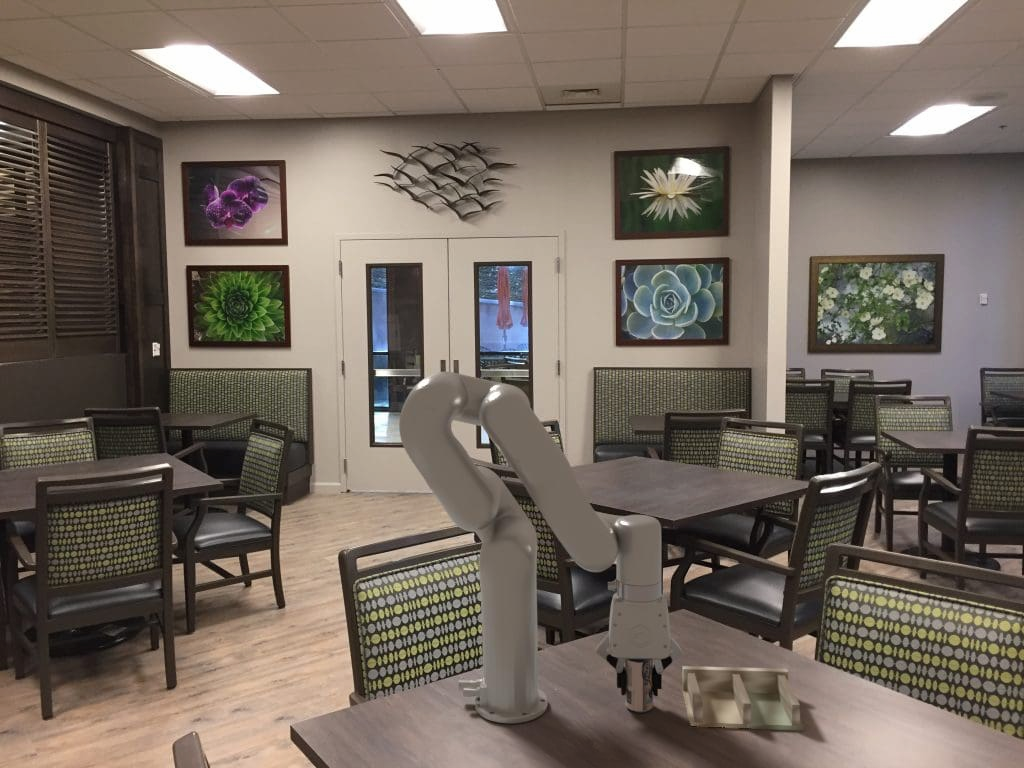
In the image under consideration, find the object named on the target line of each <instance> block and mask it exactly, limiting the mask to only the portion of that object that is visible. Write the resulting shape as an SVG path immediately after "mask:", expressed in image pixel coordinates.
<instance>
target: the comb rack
mask: <svg viewBox="0 0 1024 768" xmlns="http://www.w3.org/2000/svg"><path fill="white" fill-rule="evenodd" d="M681 668H682V679H681V680H682V688H681V690H682V696H683V699H684V700H685V701H684V705H685V704H686V705H685V709H686V708H687V709H686V713H687V717H689V718H688V721H690V722H689V725H691V726H697V727H696V728H708V727H722V728H721V729H739V728H749V729H748V730H770V729H771V730H774V731H775V730H777V731H801V732H802V731H805V725H804V723H803V721H802V719H801V704H800V702H799V700H798V699H797V696H796V694H795V693H794V691H793V689H792V686H791V685H790V683H789V670H788V669H787V668H774V667H773V668H771V667H770V668H769V667H735V666H732V667H731V666H727V667H726V666H700V665H699V666H696V665H695V666H694V665H693V666H692V665H691V666H690V665H689V666H688V665H682V667H681ZM691 726H690V727H691ZM699 726H700V727H699ZM723 727H725V728H723ZM750 728H751V729H750Z"/></svg>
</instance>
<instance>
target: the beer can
mask: <svg viewBox="0 0 1024 768" xmlns="http://www.w3.org/2000/svg"><path fill="white" fill-rule="evenodd" d="M653 666H654V660H653V659H626V660H625V663H624V667H625V673H626V695H624V696H625V699H624V700H625V702H624V704H625V707H626V708H627V709H629V710H630V711H631V712H634V711H635V712H634V713H646V712H648V711H650V710H651V709H653V707H654V703H653V699H654V697H653V696H654V695H653Z"/></svg>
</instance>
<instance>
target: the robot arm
mask: <svg viewBox="0 0 1024 768" xmlns="http://www.w3.org/2000/svg"><path fill="white" fill-rule="evenodd" d="M454 421H456V422H460V423H464V424H470V425H474V426H480V427H482V428H483V430H484V431H485V433H486V434H487V436H488V437H489V439H490V440H491V441H492V442H493V444H494V445H495V447H496V448H497V450H498V451H499V453H501V456H503V458H504V460H505V461H506V462H507V464H508V465H509V466H510V467H511V469H512V470H513V472H514V473H515V474H516V476H517V477H518V479H519V481H521V483H522V484H523V486H524V488H525V489H526V492H527V494H528V495H529V497H530V498H531V500H532V501H533V502H534V504H535V506H536V507H537V509H538V510H539V511H540V514H541V515H542V516H543V518H544V520H545V522H546V523H547V524H548V526H549V528H550V529H551V530H552V532H553V533H554V535H555V537H556V538H557V539H558V541H559V542H560V544H562V546H563V548H564V550H565V551H566V553H568V554H569V556H570V557H571V559H572V560H573V561H574V563H576V565H577V566H579V567H580V568H581V569H583V570H585V571H586V572H587V571H588V572H591V573H601V572H603V571H606V570H608V569H609V568H610V567H611V566H612V565H613V564H614V563H615V561H616V578H615V579H614V580H613V581H607V590H608V591H613V592H614V594H613V595H612V599H611V602H610V611H609V626H608V633H607V634H606V635H605V636H604V637H603V639H602V640H601V641H600V642H599V644H598V645H597V646H596V654H597V655H599V656H600V657H601V658H602V659H604V660H606V661H607V663H608V664H609V665H610V666H612V668H613V669H615V672H616V688H617V689H620V693H621V696H625V695H626V673H625V660H626V659H653V696H654V697H658V696H659V690H662V689H663V687H662V686H663V685H662V683H663V682H662V679H663V677H662V674H663V673H664V670H666V669H667V668H668V667H669V666H671V664H672V663H673V662H674V661H676V660H677V659H678V658H680V657H681V656H683V650H682V648H681V646H679V644H678V643H677V641H675V639H674V638H673V637H672V635H671V634H670V633H671V632H670V631H671V630H670V617H669V609H668V603H667V599H666V597H665V595H664V594H663V593H662V524H661V523H660V520H658V519H657V518H656V517H653V516H650V515H644V514H630V515H618V514H617V515H616V514H615V515H614V514H610V513H609V514H608V513H603V512H596V511H595V509H594V508H593V507H592V505H591V503H590V502H589V500H588V499H587V498H586V496H585V494H584V492H583V490H582V489H581V486H580V485H579V483H578V480H577V479H576V476H575V473H574V471H573V469H572V466H571V464H570V462H569V460H568V458H567V456H566V455H565V454H564V452H563V451H562V449H561V448H560V446H559V445H558V444H557V443H556V441H555V440H554V438H553V437H552V436H551V434H550V433H549V431H548V430H547V429H546V427H545V426H544V425H543V423H542V421H541V420H540V418H538V416H537V414H536V413H535V412H534V410H533V408H531V403H530V399H529V398H528V396H527V394H526V393H525V392H524V391H523V390H522V389H521V388H519V387H517V386H516V385H512V384H508V383H504V382H499V381H494V380H493V381H492V380H490V379H485V378H479V377H475V376H471V375H466V374H461V373H456V372H452V371H439V372H435V373H433V374H430V375H429V376H426V377H425V378H423V379H422V380H420V381H418V383H416V385H415V386H414V387H413V388H412V389H411V390H410V392H409V394H408V396H407V397H406V399H405V401H404V402H403V405H402V408H401V411H400V415H399V422H398V423H399V426H398V427H399V436H400V440H401V444H402V446H403V448H404V450H405V452H406V454H407V456H408V457H409V459H410V460H411V462H412V463H413V465H414V467H415V468H416V469H417V471H418V472H419V473H420V475H421V477H422V478H423V479H424V481H425V482H426V483H425V484H427V486H428V488H429V489H430V490H431V491H432V493H433V494H434V496H435V497H436V498H437V500H438V501H439V503H440V505H441V506H442V508H443V509H444V510H445V512H446V514H447V515H448V517H449V519H450V520H451V521H452V522H453V523H454V524H455V525H456V526H457V527H458V528H460V529H462V530H463V531H467V532H470V533H471V532H475V534H476V535H477V536H478V538H479V539H480V541H481V543H482V544H481V546H480V547H481V548H480V552H479V556H478V557H479V559H478V573H479V584H480V603H481V604H480V606H481V611H480V612H481V634H482V635H481V636H482V637H481V639H482V677H481V678H480V677H478V678H477V679H476V680H474V679H473V680H472V679H463V678H462V679H458V692H462V696H463V697H465V698H466V697H475V698H474V708H475V711H476V712H477V714H478V715H480V717H482V718H484V719H486V720H488V721H491V722H495V723H500V724H519V723H526V722H530V721H532V720H535V719H537V718H539V717H540V716H542V715H543V714H544V713H545V712H546V711H547V709H548V697H547V694H546V693H545V692H544V691H543V690H541V689H540V688H539V650H538V649H539V646H538V645H539V643H538V642H539V641H538V602H537V601H538V597H537V595H538V594H537V573H538V572H537V569H538V567H537V564H538V563H537V561H538V559H537V557H538V554H537V553H538V537H537V531H536V529H535V527H534V525H533V523H532V522H531V520H530V519H529V517H528V516H527V514H526V513H525V511H524V510H523V508H522V507H521V506H520V504H519V503H518V501H517V500H516V499H515V497H514V495H513V494H512V493H511V491H510V490H509V489H508V487H507V486H506V485H505V482H504V481H503V480H502V479H501V477H499V475H497V473H496V472H494V471H493V470H491V469H490V468H488V467H486V466H482V465H477V464H476V462H474V461H473V459H472V458H471V457H470V455H469V454H468V451H467V450H466V449H465V447H464V446H463V444H462V443H461V442H460V441H459V439H458V438H456V436H455V435H454V433H453V430H452V423H453V422H454ZM608 648H609V650H608Z"/></svg>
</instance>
